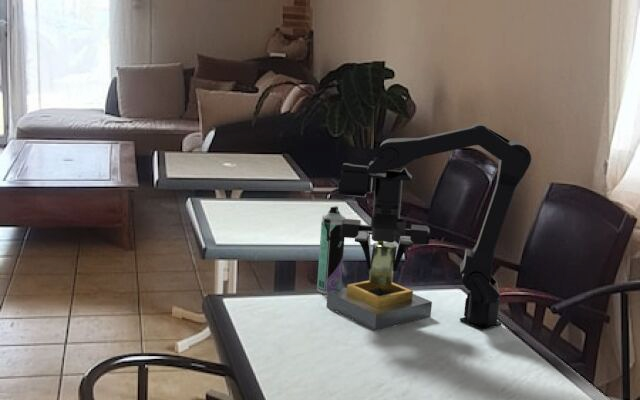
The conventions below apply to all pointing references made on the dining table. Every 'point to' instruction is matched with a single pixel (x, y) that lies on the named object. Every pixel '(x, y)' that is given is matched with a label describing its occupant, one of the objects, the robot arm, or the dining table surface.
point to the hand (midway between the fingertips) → (382, 270)
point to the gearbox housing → (379, 304)
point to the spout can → (382, 263)
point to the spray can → (330, 252)
